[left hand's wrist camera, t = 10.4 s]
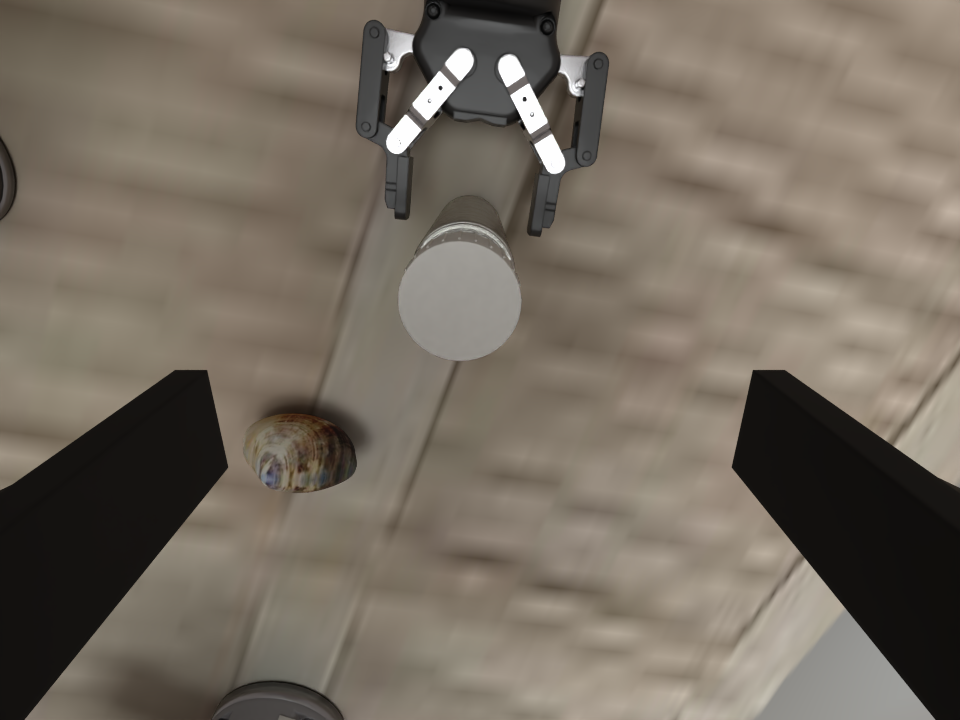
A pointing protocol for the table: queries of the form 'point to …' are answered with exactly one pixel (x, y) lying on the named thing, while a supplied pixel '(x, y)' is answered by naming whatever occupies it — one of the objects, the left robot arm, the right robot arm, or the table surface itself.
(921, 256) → the table surface
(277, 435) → the seashell
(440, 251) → the cap
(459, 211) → the bottle
